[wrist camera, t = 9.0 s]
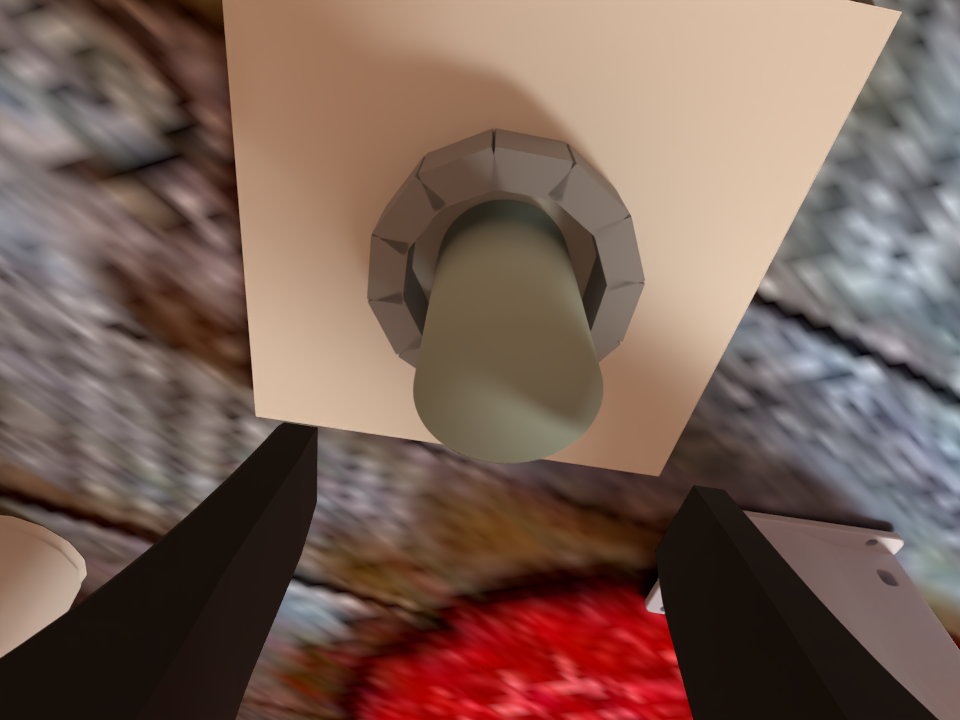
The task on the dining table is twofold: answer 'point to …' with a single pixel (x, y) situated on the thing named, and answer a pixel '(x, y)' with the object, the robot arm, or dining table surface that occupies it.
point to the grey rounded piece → (506, 340)
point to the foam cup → (34, 579)
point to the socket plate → (525, 181)
